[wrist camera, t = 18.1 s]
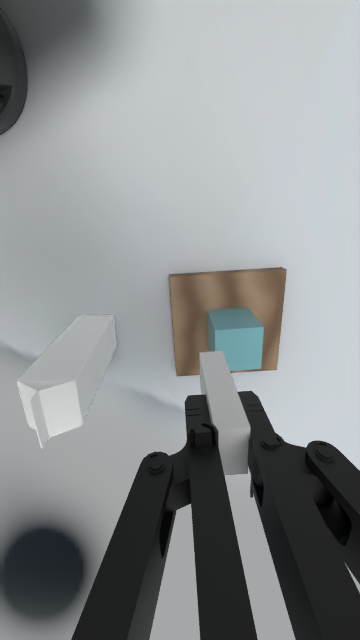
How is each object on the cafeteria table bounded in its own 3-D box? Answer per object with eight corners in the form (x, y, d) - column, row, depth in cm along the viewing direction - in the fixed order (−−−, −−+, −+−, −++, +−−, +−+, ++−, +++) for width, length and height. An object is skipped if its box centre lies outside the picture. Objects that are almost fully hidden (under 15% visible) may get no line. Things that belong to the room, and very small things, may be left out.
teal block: (208, 345, 44) (215, 371, 37) (207, 309, 42) (214, 330, 34) (246, 343, 44) (261, 368, 37) (247, 307, 42) (263, 327, 34)
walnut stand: (176, 370, 48) (177, 398, 41) (169, 274, 41) (168, 287, 34) (272, 364, 48) (291, 390, 41) (281, 267, 41) (305, 278, 34)
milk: (83, 345, 46) (9, 451, 25) (78, 313, 43) (-7, 401, 23) (118, 345, 46) (72, 450, 25) (115, 313, 43) (62, 401, 23)
